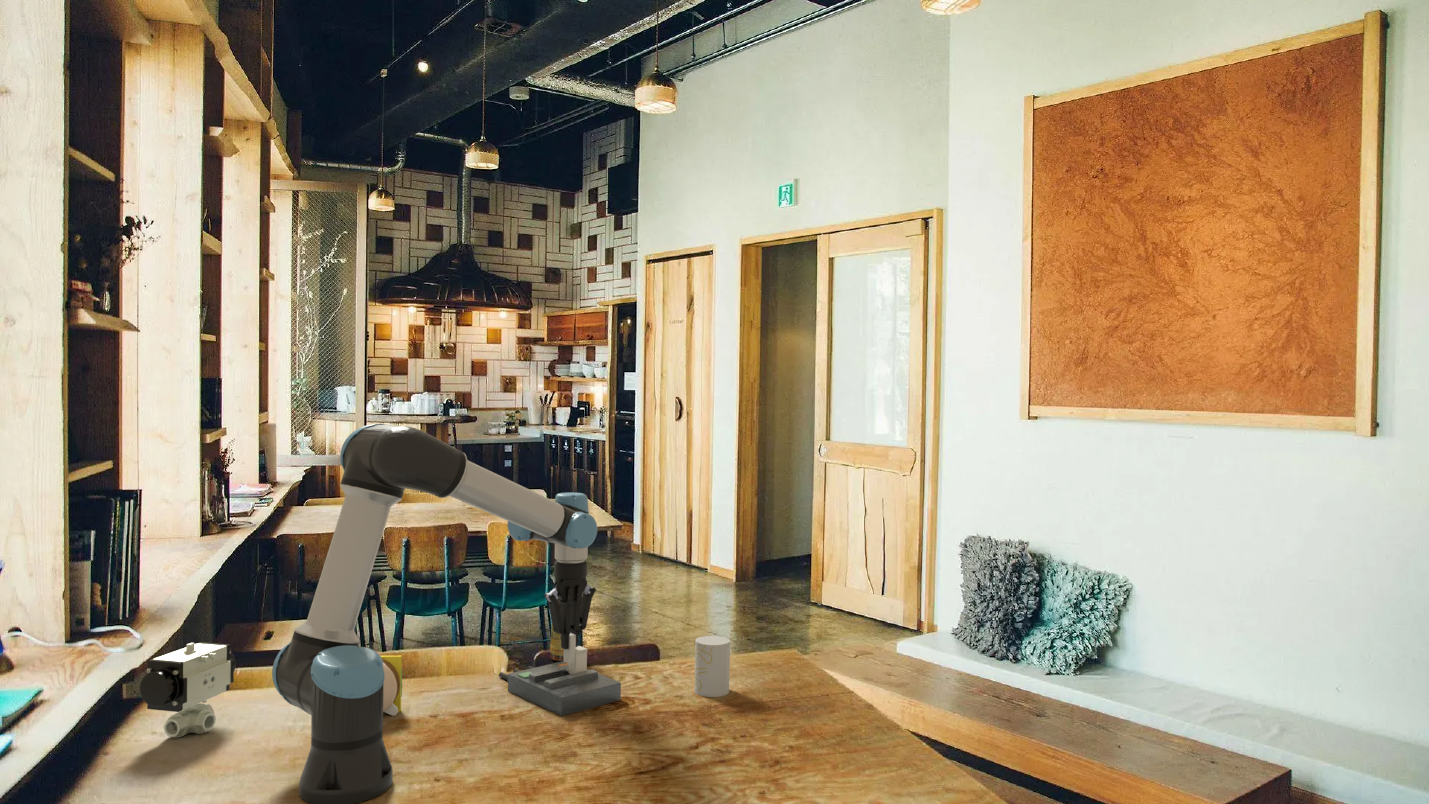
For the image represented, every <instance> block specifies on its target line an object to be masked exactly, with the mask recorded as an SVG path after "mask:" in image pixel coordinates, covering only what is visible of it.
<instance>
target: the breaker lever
mask: <svg viewBox="0 0 1429 804" xmlns="http://www.w3.org/2000/svg"><path fill="white" fill-rule="evenodd" d="M588 653H589V652H588V648H586V647H584V646H581V645H578V646H577V647H576V656H575V663H572V664H569V674H575V673H579V672H583V671H587V669H588V664H587V663H588Z"/></svg>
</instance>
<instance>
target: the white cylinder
mask: <svg viewBox="0 0 1429 804" xmlns="http://www.w3.org/2000/svg"><path fill="white" fill-rule="evenodd" d="M694 644H695V645H694V646H695V647H694V651H695V653H694V694H696V695H698V696H702V697H705V698H718V697H725V696H727V695H728V694H730V668H731V667H730V664H731V663H730V661H731V659H730V655H731V640H730V638H728V637H726V636H721V635H705V636H699V637H697V638H695V643H694Z"/></svg>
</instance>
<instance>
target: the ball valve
mask: <svg viewBox="0 0 1429 804" xmlns="http://www.w3.org/2000/svg"><path fill="white" fill-rule="evenodd" d="M236 665H237V661H236V657H235V655H234V654H233V652H232V651H231V644H227V643H215V642H203V641H200V642H198V643H195V642H190V643H187V644H186V645H185V647H184V648H180V649H177V650H175V651H172V652H169V653H166V654H164V655H161V656H157V657H155V658H152V659H150V660H149V659H148V660H147V669H146V672H147V674H145V675H144V676H143V677H142V679H141V681H140V685H139V692H140V696H141V699H142V700H143V701H144V703H145V704H147V705H146V708H147V710H155V711H162V712H163V711H164V712H175V713H174V714H172V715H170V716H169V718H167V720H166V721H165V723H164V725H163V731H164V734H166V736H167V737H170V738H182V737H183V736H186V735H188V734H190V733H192V734H203V733H202V732H204V733H207V732H209V731H211V730H213V728H214V726H215V725H216V722H217V721H216V720H217V718H216V715H215V711H214V708H213V706H212V705H211V704H208V703H207V702H208V700H209V699H212V698H214V697H216V696H219V695H221V694H223V693H226V692H228V691H229V690H230V685H231V684H233V683H234V681H235V679H234V674H235V671H236V667H237V666H236Z"/></svg>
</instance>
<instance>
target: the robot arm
mask: <svg viewBox="0 0 1429 804" xmlns="http://www.w3.org/2000/svg"><path fill="white" fill-rule="evenodd" d="M339 453H340V455H339V457H340V458H339V461H340V465H341V467H342V469H343V474H342V477H341V481H340V484H339V487H340V488H341V490H342V492H343V494H344V499H343V503H342V506H341V509H340V512H339V516H338V520H337V522H336V525H335V529H334V531H333V536H332V538H331V541H330V545H329V548H328V551H327V555H326V558H325V559H324V560H325V561H324V564H323V567H322V570H321V573H320V576H319V581H318V583H317V586H316V589H315V593H314V596H313V600H312V603H311V605H310V606H311V607H310V608H309V612H308V616H307V619H306V620H305V622H303V623H301V624H300V625H299V626H296V627H295V628H294V631H293V634H292V637H291V641H289V643H287V644H286V645H285V646H283V647H282V648H281V649H280V650H279V652H278V653H277V655H276V658H275V659H274V662H273V665H272V671H271V673H272V674H271V675H272V677H271V678H272V682H273V685H274V688H275V689H276V691H277V692H278V694H279V695H280V696H281V697H282V698H283V699H284V700H285V701H286V702H287V703H288V704H290V705H292V706H294V707H296V708H298V709H300V710H301V711H304V712H305V713H307V714H309V715H310V716H311V718H310V719H311V723H310V724H311V726H310V727H311V729H310V733H311V738H310V739H311V740H310V750H309V753H308V755H307V758H306V760H305V764H304V767H303V770H302V772H301V774H300V775H301V776H300V778H299V790H298V791H299V792H298V793H299V794H298V795H299V796H300V798H301V800H303V801H304V802H306V803H308V804H357V803H358V804H359V803H362V802H366V801H368V800H371V799H373V798H376V797H378V796H380V795H382V794H384V793H385V792H386V791H388V790H389V788H390V787H392V785H393V766H392V763H391V759H390V756H389V754H388V750H387V748H386V746H385V742H384V739H383V737H384V736H383V732H384V731H383V727H384V712H383V690H384V678H385V676H384V670H383V661H382V658H381V656H382V655H380V654H379V653H378V652H377V651H375V650H374V649H372V648H369V647H367V646H366V647H365V646H359V644H360V639H359V637H358V636H357V634H356V631H355V628H356V624H357V621H358V617H359V615H360V611H361V608H362V604H363V601H364V598H365V595H366V591H367V587H368V585H369V581H370V578H371V575H372V571H373V568H374V565H375V561H376V559H377V555H378V551H379V548H380V545H381V541H382V538H383V536H384V531H385V528H386V524H387V522H388V518H389V515H390V511H391V509H392V507H393V506H394V505H396V504H398V503H399V502H401V501H402V499H403V496H404V493H405V490H406V489H407V490H412V491H419V492H423V493H426V494H430V495H432V496H435V497H437V498H441V499H445V498H448V497H451V498H454V499H456V500H458V501H460V502H462V503H465V504H467V505H470V506H472V507H474V508H476V509H479V510H482V511H484V512H486V513H488V514H491V515H492V516H496V517H498V518H500V519H503V520H505V521H507V531H508V533H509V535H510V537H511V538H512V539H513V540H514V541H517V542H518V541H519V542H521V541H522V542H523V541H524V542H528V541H532V540H533V541H534V540H536V541H541V542H544V543H545V542H546V543H550V544H554V559H555V561H554V563H553V565H554V566H553V568H554V569H553V573H554V574H553V575H554V584H553V589H552V590H550V591H549V592H545V593H544V598H545V600H546V602H547V604H548V608H549V609H548V610H549V614H550V619H551V626H552V625H553V630H554V632H556V633H559V634H561V647H562V648H563V649H564V653H563V661H564V662H566V663H569V664H572V663H575V656H576V647H577V646H579V635H581V634H582V631H584V630H586V628H587V625H588V624H587V623H588V620H589V619H588V618H589V614H590V609H591V606H592V600H593V597H594V595H595V593H596V591H597V589H596V587H594V586H591V585H589V584H588V580H587V576H588V561H587V559H588V553H589V552H588V551H589V550H588V547H590V546H591V545H592V544H593V543H594V541H595V539H596V538H597V534H598V524H597V521H596V519H595V518H594V516H592V514H589V513H590V510H589V500H588V496H587V494H585V493H582V492H560V493H557V494H555V500H552V499H551V498H548V497H546V496H544V495H542V494H541V493H540V494H539V493H538V492H535V491H534V490H531V489H529V488H527V487H525V486H523V485H520V484H519V483H516V482H515V481H512V480H510V479H508V478H506V477H504V476H502V475H500V474H498V473H495V472H493V471H491V470H489V469H487V468H485V467H483V466H480V465H478V464H476V463H474V462H472V461H470V460H468V457H467V455H466V453H465V452H463V451H462V450H460V449H457V448H456V447H454V446H452V445H449V444H447V443H446V442H444V441H442V440H441V439H439V438H437V437H434V436H433V435H431V434H429V433H428V432H425V431H423V430H421V429H418V428H415V427H412V426H407V425H406V426H405V425H403V426H401V425H396V424H394V425H393V424H384V423H375V424H374V423H373V424H367V425H364V426H360V427H359V428H357V429H356V430H354V431H352V432H351V433H350V434H349V435H348V436H347V438H345V440H344V442H343V444H342V447H341V449H340V452H339ZM558 596H559V603H560V609H559V604H558ZM570 632H571V633H570Z"/></svg>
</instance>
